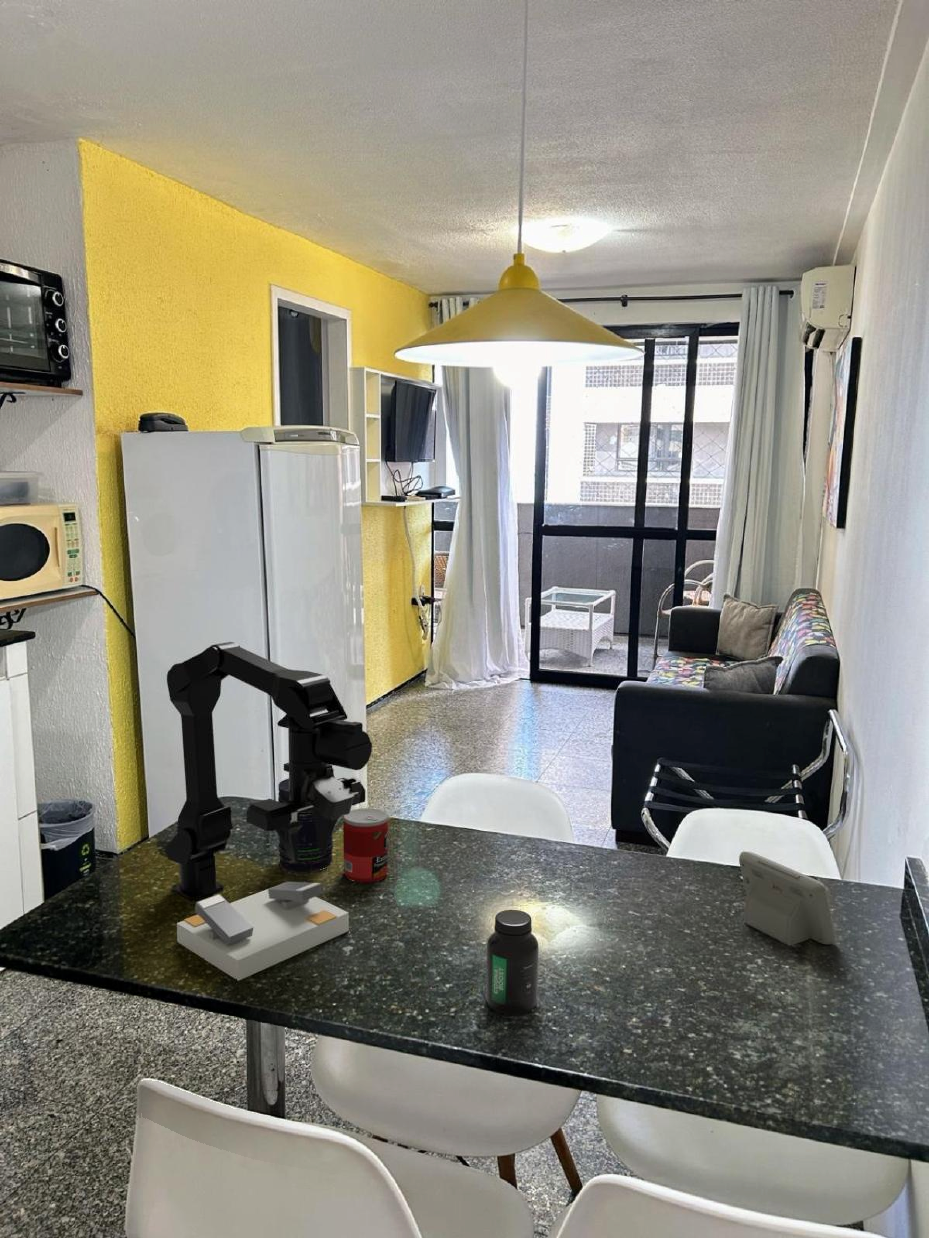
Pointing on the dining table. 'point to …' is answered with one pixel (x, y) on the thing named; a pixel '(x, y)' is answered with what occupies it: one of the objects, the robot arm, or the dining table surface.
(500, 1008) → the supplement bottle
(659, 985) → the dining table surface
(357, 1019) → the dining table surface
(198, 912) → the block
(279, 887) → the rocker
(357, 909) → the dining table surface
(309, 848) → the storage jar
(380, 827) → the canned food
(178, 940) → the switch base
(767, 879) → the digital clock
